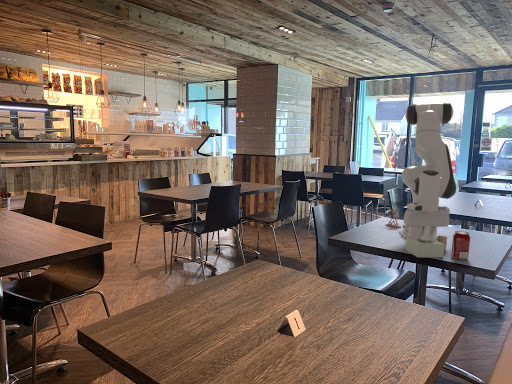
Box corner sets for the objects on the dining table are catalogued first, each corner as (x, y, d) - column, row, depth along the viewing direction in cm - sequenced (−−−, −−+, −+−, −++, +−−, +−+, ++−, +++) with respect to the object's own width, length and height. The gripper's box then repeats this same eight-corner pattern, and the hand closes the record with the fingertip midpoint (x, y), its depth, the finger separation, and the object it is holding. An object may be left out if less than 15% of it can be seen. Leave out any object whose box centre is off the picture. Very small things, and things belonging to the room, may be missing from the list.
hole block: (405, 249, 188) (406, 237, 187) (430, 250, 189) (431, 237, 188) (417, 257, 176) (418, 244, 175) (443, 257, 177) (444, 244, 176)
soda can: (470, 261, 172) (472, 234, 171) (453, 259, 174) (456, 233, 172) (465, 256, 179) (467, 231, 177) (449, 255, 180) (451, 230, 179)
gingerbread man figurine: (401, 227, 237) (403, 208, 235) (397, 228, 235) (399, 208, 233) (389, 225, 244) (390, 206, 242) (385, 225, 242) (386, 206, 240)
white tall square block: (417, 252, 184) (420, 222, 182) (426, 252, 184) (428, 223, 182) (421, 254, 180) (424, 224, 178) (430, 254, 180) (432, 224, 179)
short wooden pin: (434, 249, 190) (436, 235, 189) (443, 249, 190) (444, 235, 189) (439, 251, 186) (440, 237, 185) (447, 252, 186) (448, 237, 185)
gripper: (446, 205, 183) (443, 234, 185) (403, 204, 182) (401, 233, 184) (453, 207, 177) (450, 237, 179) (409, 207, 176) (407, 237, 178)
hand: (425, 235), depth 181 cm, fingers closed on white tall square block, 4 cm apart
